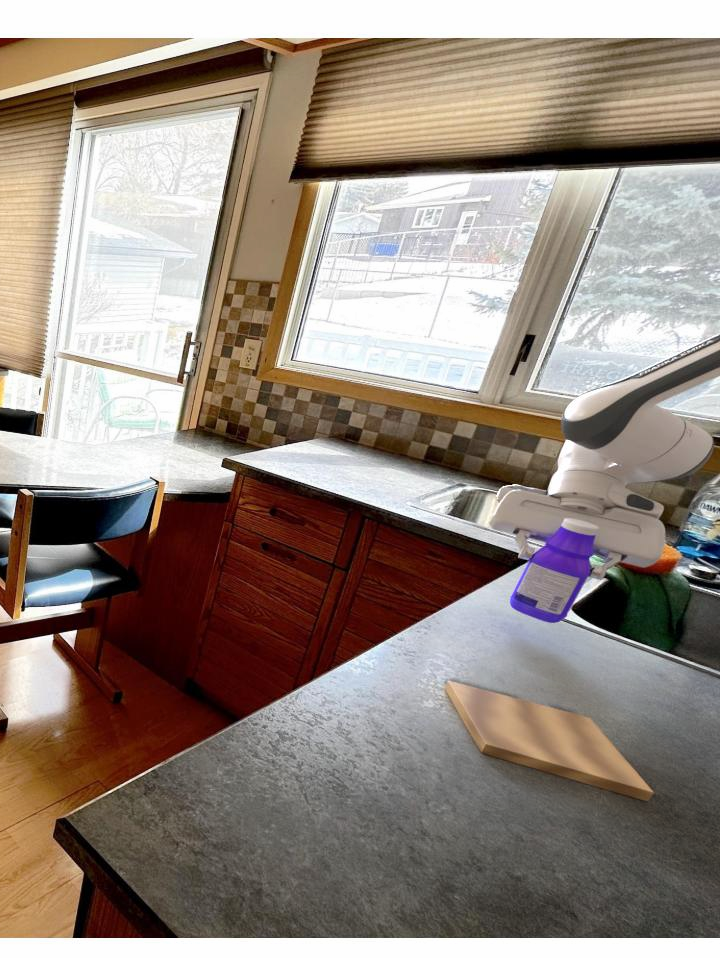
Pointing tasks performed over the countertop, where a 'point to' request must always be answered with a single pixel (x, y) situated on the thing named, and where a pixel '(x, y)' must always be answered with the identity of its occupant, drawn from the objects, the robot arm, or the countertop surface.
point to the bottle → (556, 572)
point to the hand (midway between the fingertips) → (559, 567)
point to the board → (545, 740)
